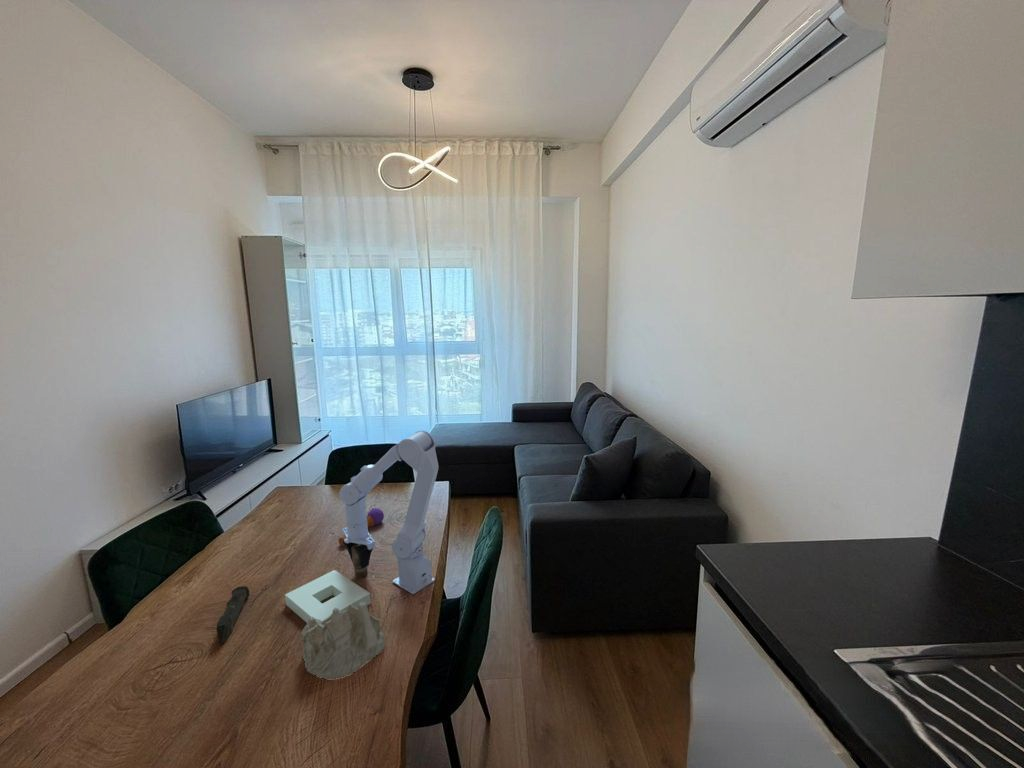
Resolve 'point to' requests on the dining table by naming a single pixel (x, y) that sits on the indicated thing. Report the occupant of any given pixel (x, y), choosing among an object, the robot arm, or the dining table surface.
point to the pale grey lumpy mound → (341, 642)
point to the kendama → (369, 520)
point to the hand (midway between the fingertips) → (360, 563)
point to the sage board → (325, 596)
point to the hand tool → (231, 613)
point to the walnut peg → (358, 564)
